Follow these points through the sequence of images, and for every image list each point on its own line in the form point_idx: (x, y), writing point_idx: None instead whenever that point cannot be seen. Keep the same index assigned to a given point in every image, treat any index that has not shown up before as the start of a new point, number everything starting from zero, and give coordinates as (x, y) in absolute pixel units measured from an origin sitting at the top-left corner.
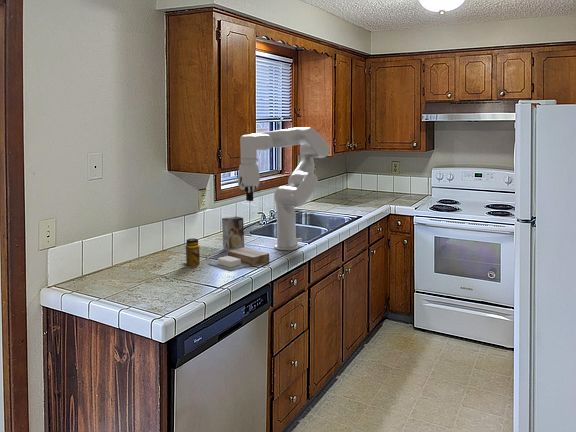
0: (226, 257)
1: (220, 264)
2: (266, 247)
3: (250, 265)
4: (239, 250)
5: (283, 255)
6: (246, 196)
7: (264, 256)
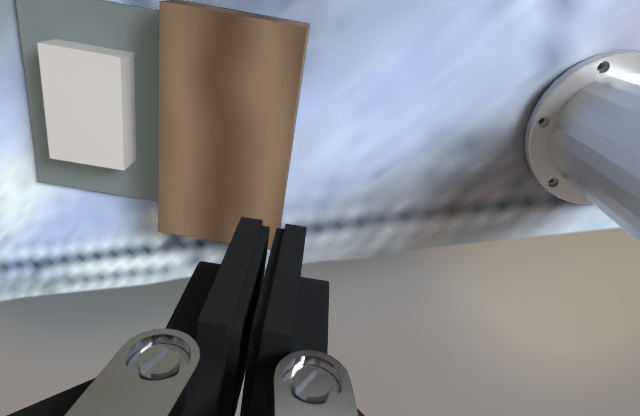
0: (88, 76)
1: None
2: (566, 9)
3: None
4: (221, 64)
5: (425, 213)
6: (186, 293)
7: None
